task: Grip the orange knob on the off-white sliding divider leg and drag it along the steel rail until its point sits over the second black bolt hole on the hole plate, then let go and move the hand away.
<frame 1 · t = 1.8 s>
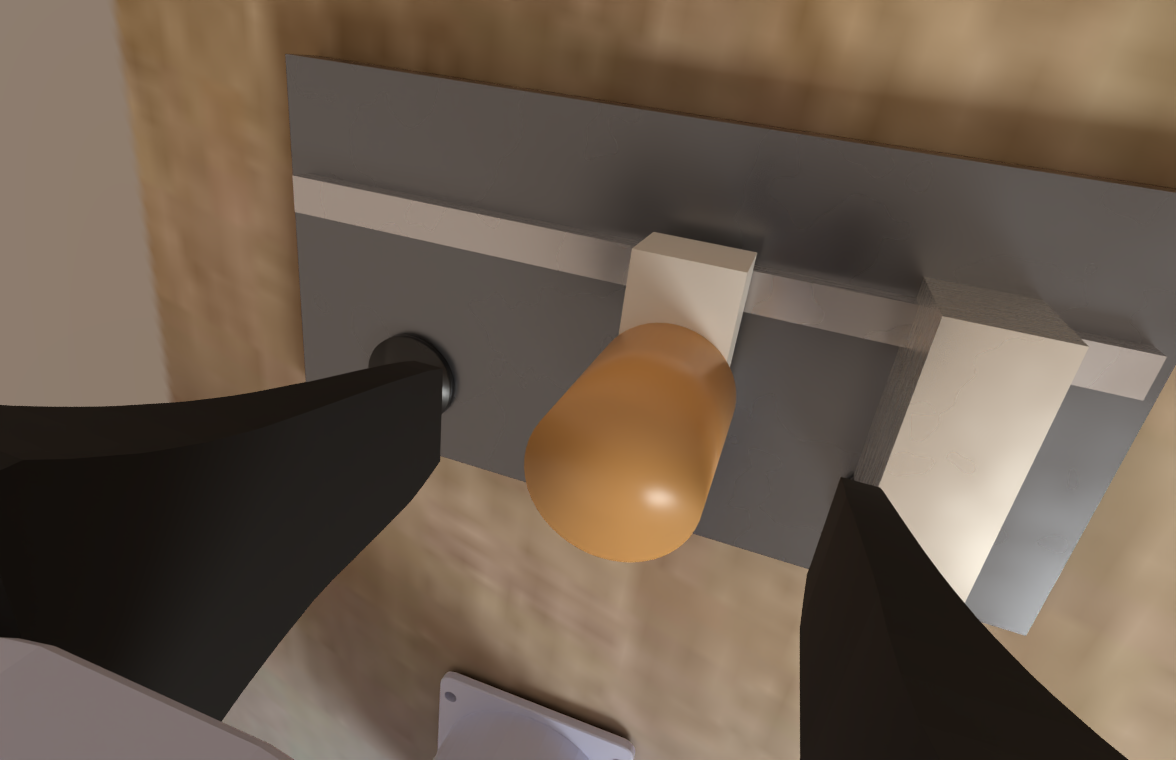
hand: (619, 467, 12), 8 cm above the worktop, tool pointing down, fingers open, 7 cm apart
hole plate: (660, 326, 19), on the worktop
sliding leg: (651, 420, 14), point 5 cm above the worktop, slide at 0.0 cm
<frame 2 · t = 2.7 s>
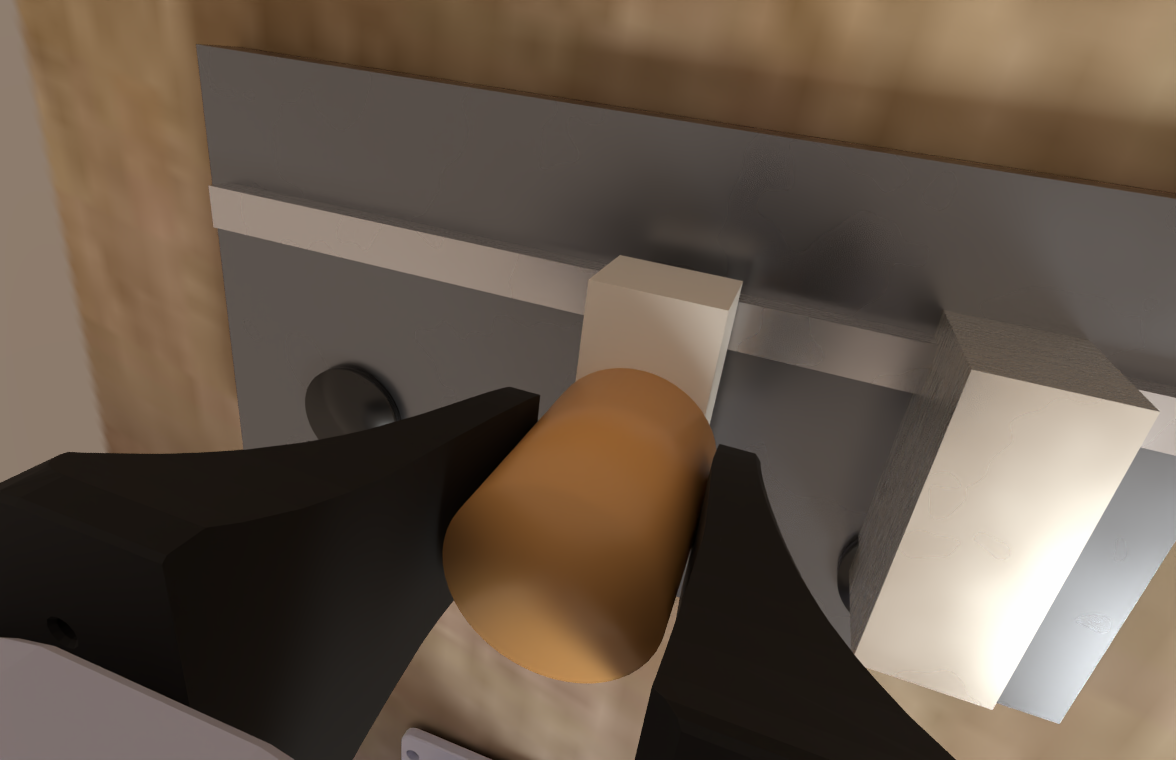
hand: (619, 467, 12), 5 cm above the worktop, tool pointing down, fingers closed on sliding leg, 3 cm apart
hole plate: (634, 359, 16), on the worktop
sliding leg: (613, 487, 12), point 5 cm above the worktop, slide at 0.0 cm, touching gripper
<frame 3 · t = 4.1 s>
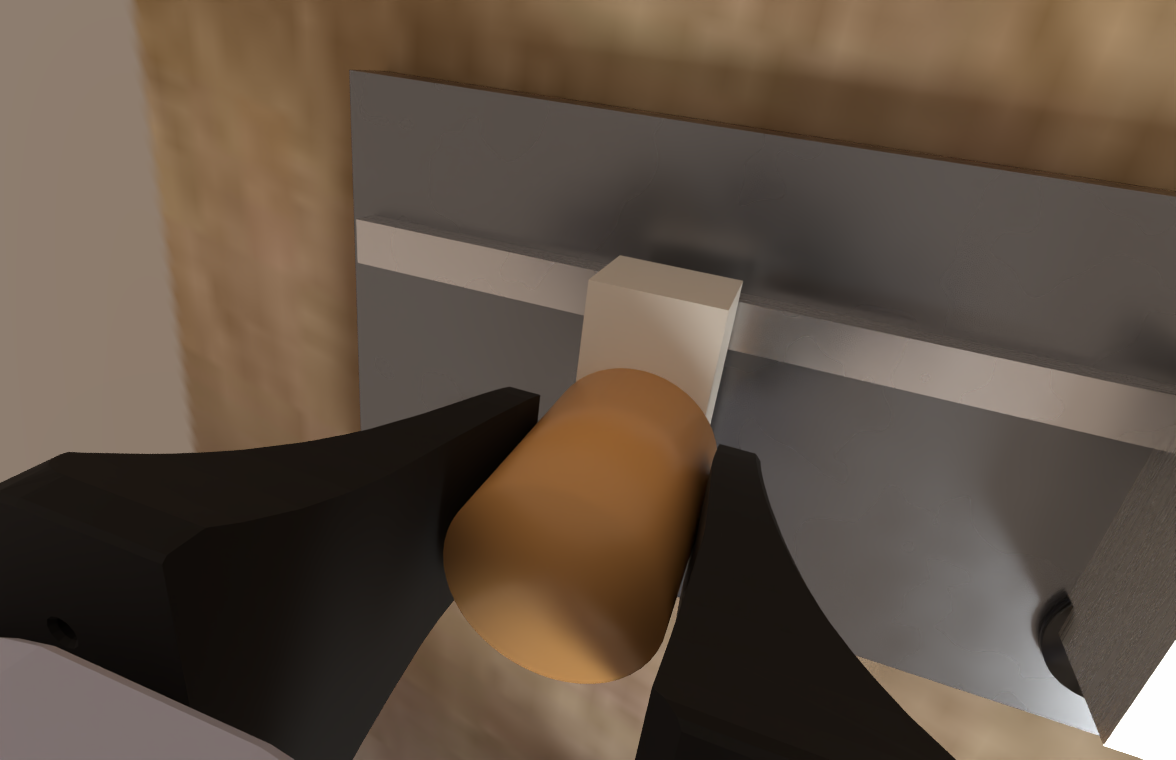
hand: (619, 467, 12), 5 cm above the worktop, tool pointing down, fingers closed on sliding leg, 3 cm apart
hole plate: (809, 402, 15), on the worktop
sliding leg: (614, 487, 12), point 5 cm above the worktop, slide at 4.1 cm, touching gripper
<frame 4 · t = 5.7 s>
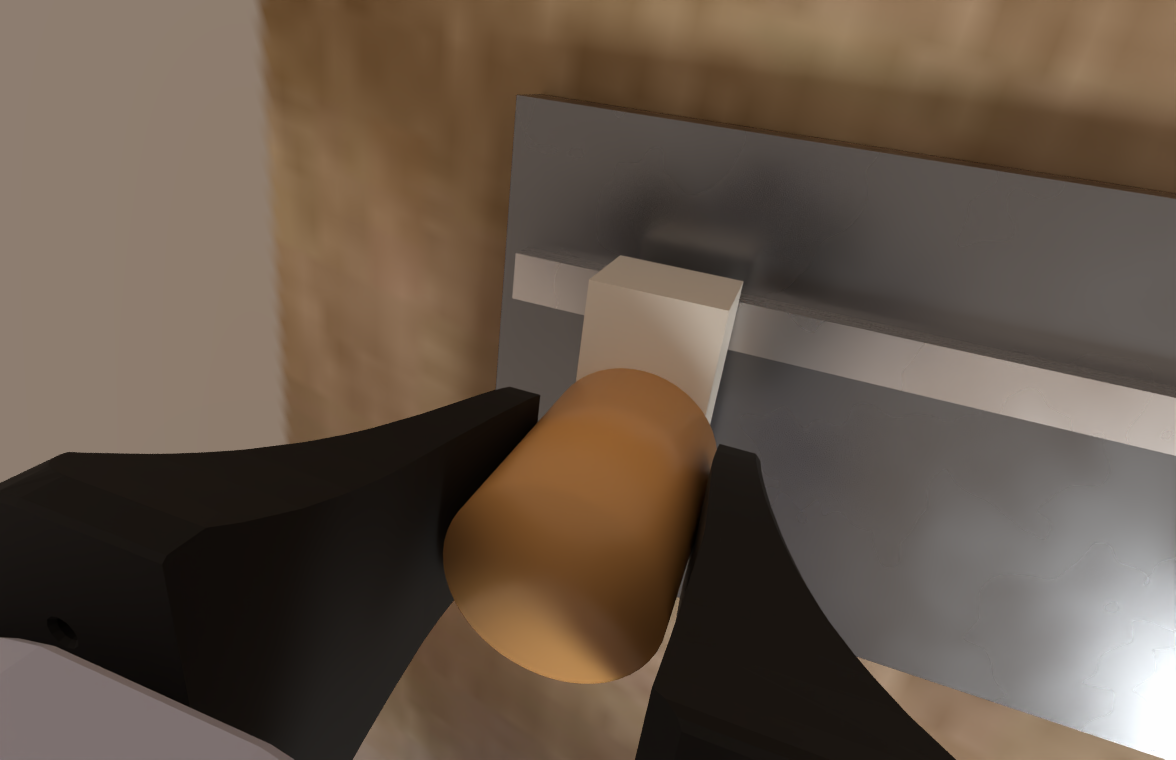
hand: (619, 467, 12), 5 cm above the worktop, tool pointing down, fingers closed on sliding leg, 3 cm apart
hole plate: (996, 449, 14), on the worktop
sliding leg: (613, 487, 12), point 5 cm above the worktop, slide at 8.0 cm, touching gripper
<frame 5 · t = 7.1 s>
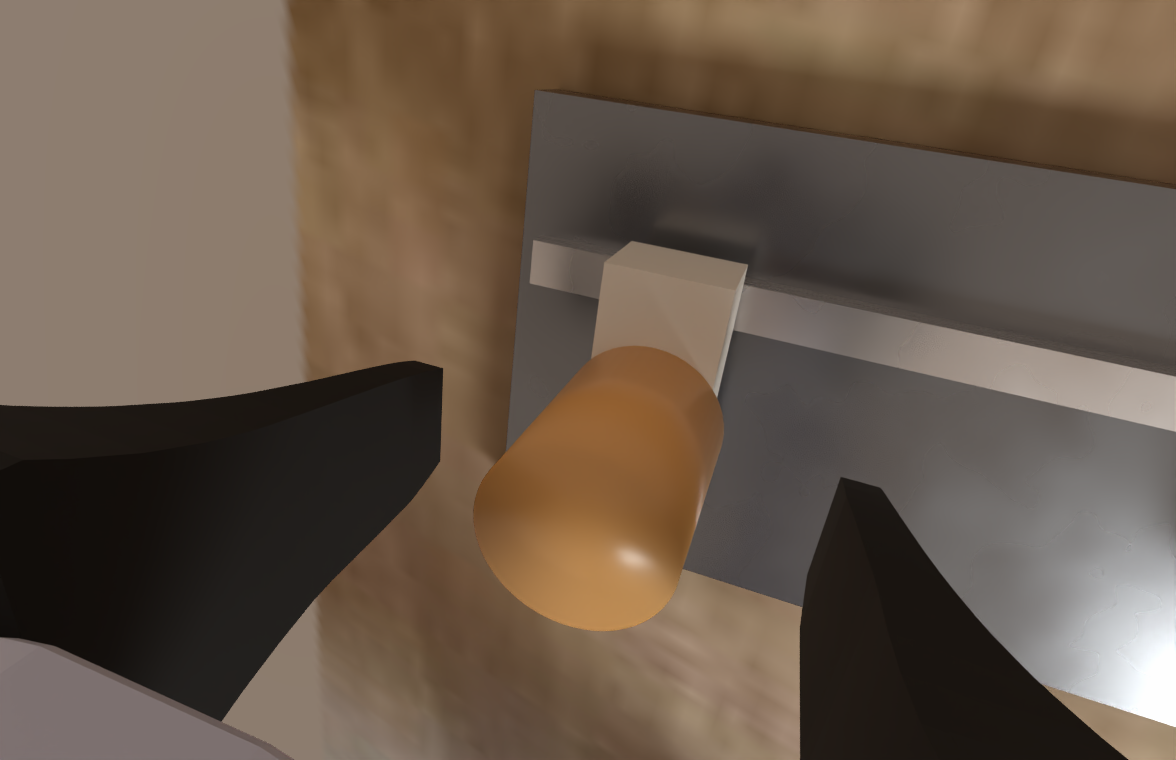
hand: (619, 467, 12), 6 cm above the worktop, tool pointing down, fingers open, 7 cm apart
hole plate: (988, 425, 15), on the worktop
sliding leg: (627, 457, 13), point 5 cm above the worktop, slide at 8.0 cm
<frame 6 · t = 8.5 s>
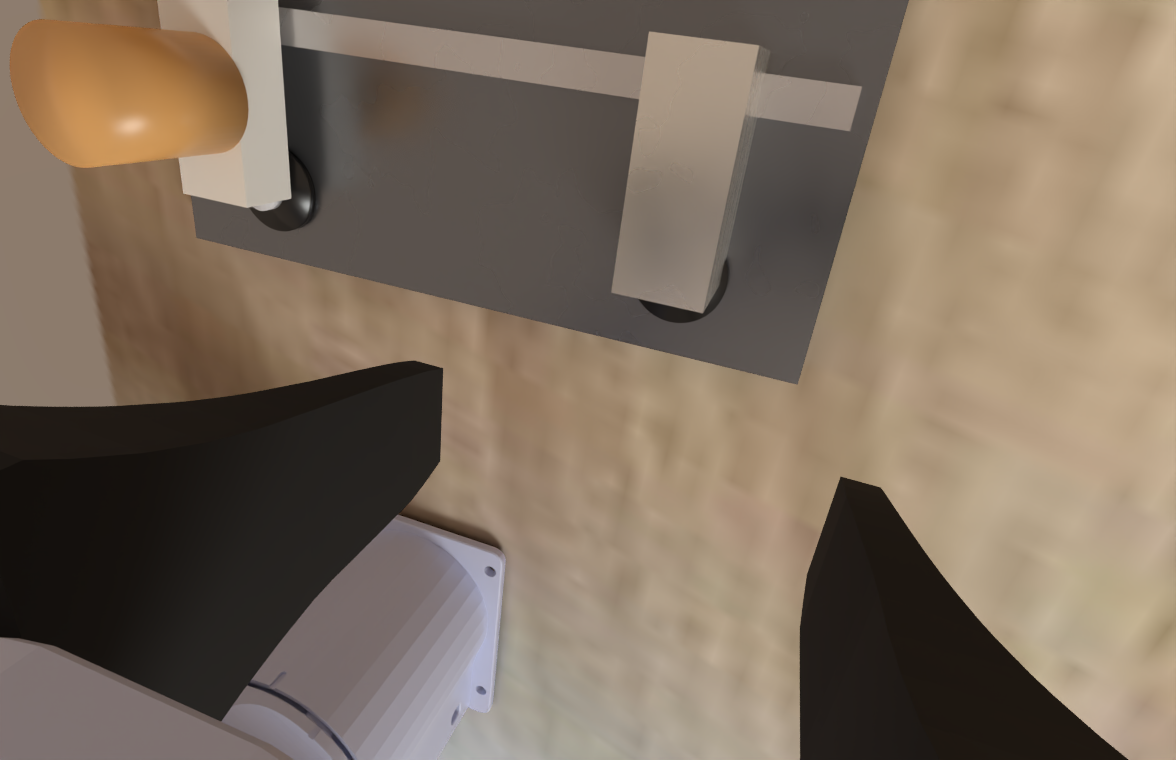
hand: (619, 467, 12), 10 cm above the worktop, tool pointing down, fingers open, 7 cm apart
hole plate: (487, 125, 21), on the worktop
sliding leg: (177, 106, 19), point 5 cm above the worktop, slide at 8.0 cm
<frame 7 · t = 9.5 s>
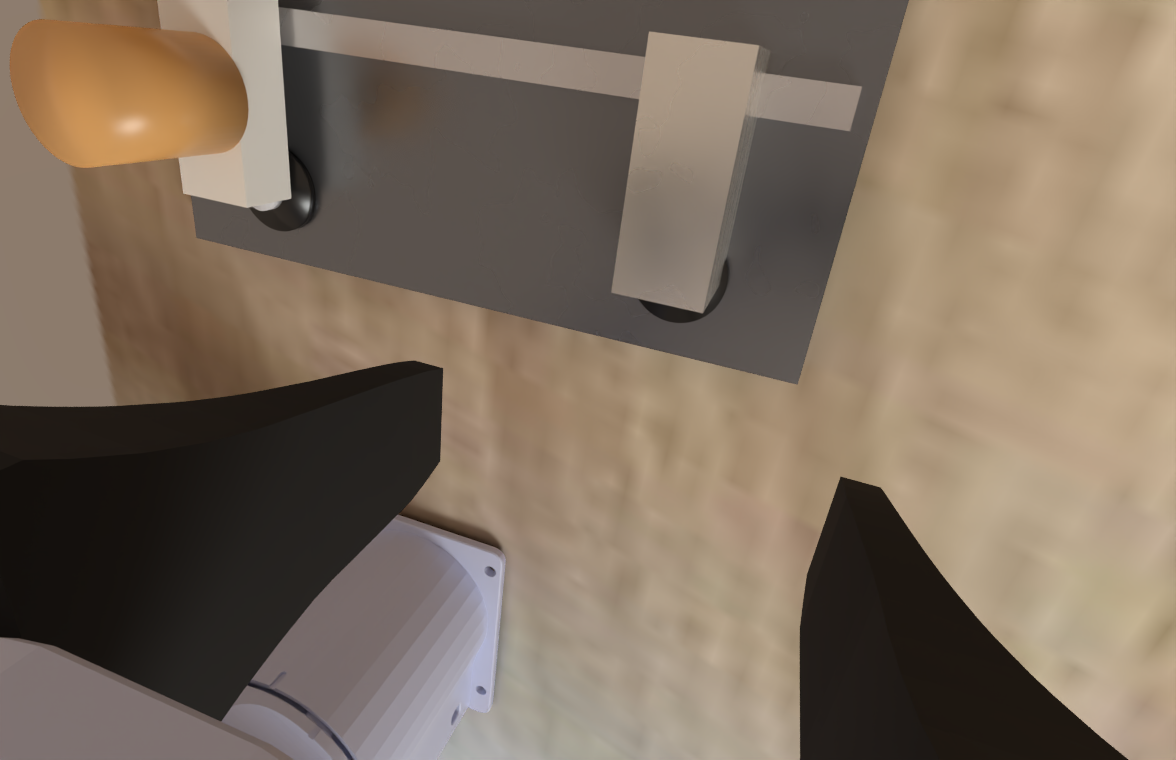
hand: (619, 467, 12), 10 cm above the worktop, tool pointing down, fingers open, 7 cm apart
hole plate: (487, 125, 21), on the worktop
sliding leg: (177, 106, 19), point 5 cm above the worktop, slide at 8.0 cm
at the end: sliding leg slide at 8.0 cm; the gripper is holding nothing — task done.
